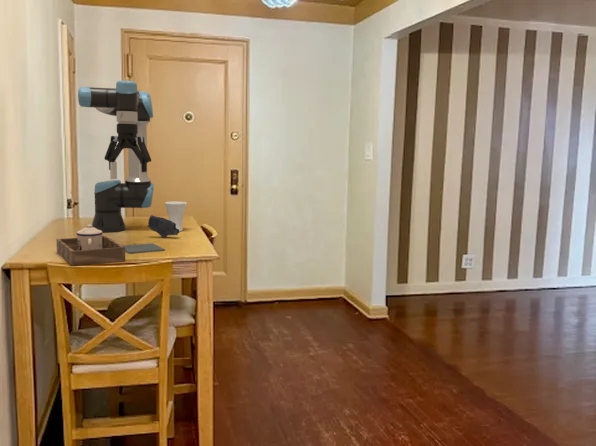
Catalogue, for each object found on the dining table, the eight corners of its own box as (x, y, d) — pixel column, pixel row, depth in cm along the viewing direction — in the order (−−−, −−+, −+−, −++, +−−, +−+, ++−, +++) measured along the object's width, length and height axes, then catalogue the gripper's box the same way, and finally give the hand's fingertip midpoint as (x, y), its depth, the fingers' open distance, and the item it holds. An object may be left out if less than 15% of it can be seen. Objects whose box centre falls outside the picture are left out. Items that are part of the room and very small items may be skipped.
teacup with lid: (77, 253, 209) (76, 223, 207) (103, 252, 212) (102, 222, 210) (76, 260, 198) (75, 228, 196) (103, 259, 201) (102, 227, 199)
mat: (118, 247, 223) (118, 245, 223) (152, 244, 231) (152, 243, 231) (129, 253, 212) (129, 252, 212) (164, 250, 219) (164, 249, 219)
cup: (160, 231, 265) (160, 202, 263) (173, 228, 274) (172, 200, 272) (178, 233, 261) (178, 204, 259) (191, 230, 271) (191, 202, 269)
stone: (179, 236, 252) (179, 214, 251) (179, 238, 246) (179, 216, 245) (147, 236, 249) (147, 214, 248) (147, 239, 244) (146, 216, 242)
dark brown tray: (56, 252, 210) (56, 239, 210) (105, 248, 220) (105, 235, 220) (72, 266, 189) (71, 251, 188) (125, 261, 199) (125, 247, 198)
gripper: (94, 122, 210) (95, 178, 213) (147, 123, 200) (148, 182, 203) (108, 123, 217) (109, 178, 220) (160, 124, 207) (160, 181, 210)
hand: (127, 180), depth 212 cm, fingers open, 13 cm apart
